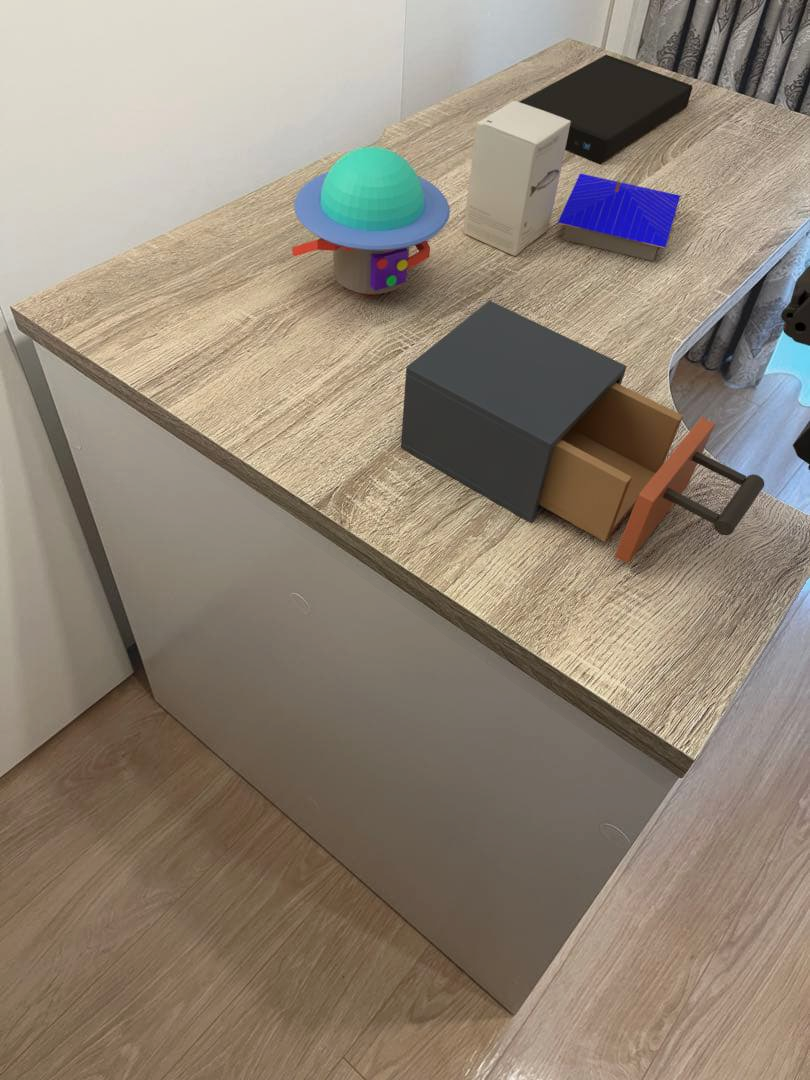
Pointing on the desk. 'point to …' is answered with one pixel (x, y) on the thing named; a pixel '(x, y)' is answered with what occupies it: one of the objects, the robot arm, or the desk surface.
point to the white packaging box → (514, 176)
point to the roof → (618, 216)
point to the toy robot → (371, 218)
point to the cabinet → (500, 403)
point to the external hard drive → (610, 105)
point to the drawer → (634, 471)
